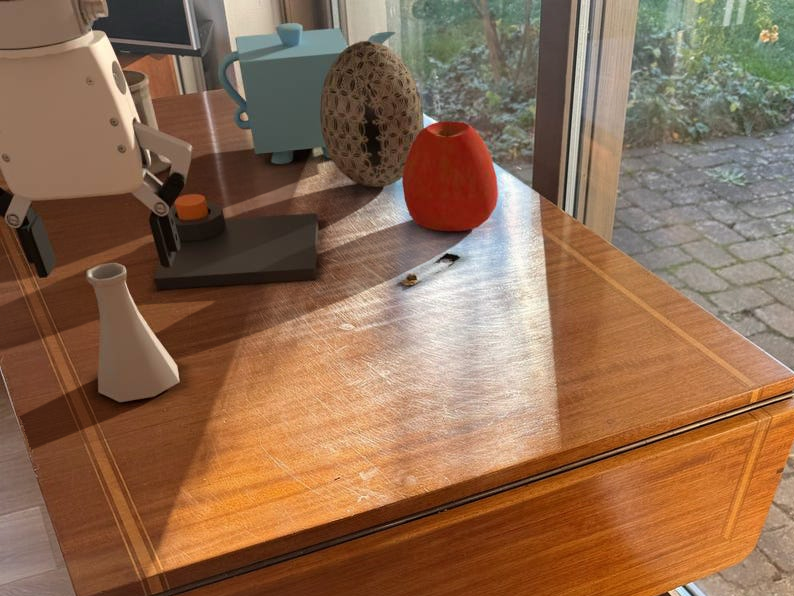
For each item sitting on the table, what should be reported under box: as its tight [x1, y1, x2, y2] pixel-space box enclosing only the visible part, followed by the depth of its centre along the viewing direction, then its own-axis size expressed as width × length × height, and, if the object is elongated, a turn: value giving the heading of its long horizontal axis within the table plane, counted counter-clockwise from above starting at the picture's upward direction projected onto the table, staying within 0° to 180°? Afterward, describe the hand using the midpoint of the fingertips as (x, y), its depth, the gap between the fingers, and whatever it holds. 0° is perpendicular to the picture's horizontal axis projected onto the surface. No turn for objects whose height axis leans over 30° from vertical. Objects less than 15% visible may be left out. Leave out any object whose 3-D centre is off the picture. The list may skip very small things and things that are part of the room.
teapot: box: [217, 22, 396, 165], centre depth 122 cm, size 22×11×14 cm, turn 102°
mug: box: [122, 69, 171, 176], centre depth 121 cm, size 14×10×12 cm
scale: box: [153, 201, 320, 291], centre depth 103 cm, size 16×15×3 cm
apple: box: [401, 120, 499, 232], centre depth 105 cm, size 10×10×10 cm
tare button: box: [174, 193, 209, 220], centre depth 105 cm, size 3×3×2 cm
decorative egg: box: [320, 40, 425, 188], centre depth 112 cm, size 12×12×15 cm
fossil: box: [400, 252, 461, 286], centre depth 100 cm, size 8×2×1 cm, turn 143°
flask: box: [86, 262, 180, 403], centre depth 83 cm, size 7×7×10 cm
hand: (108, 265), depth 79 cm, fingers open, 9 cm apart
